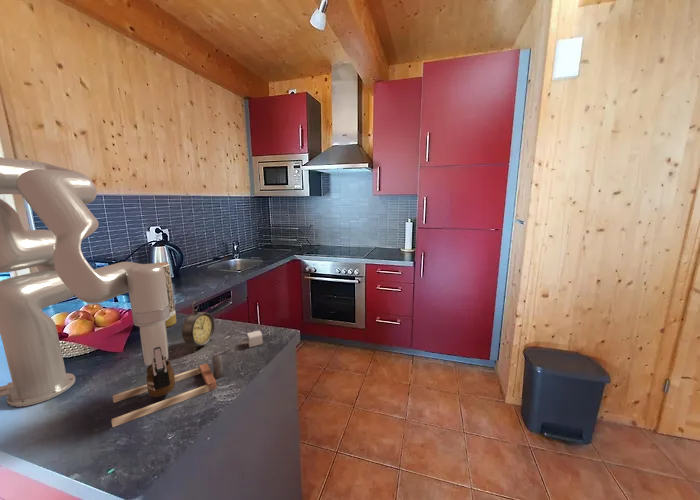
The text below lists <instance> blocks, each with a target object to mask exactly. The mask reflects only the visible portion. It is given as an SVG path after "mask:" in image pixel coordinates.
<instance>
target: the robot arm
mask: <svg viewBox="0 0 700 500" xmlns="http://www.w3.org/2000/svg"><path fill="white" fill-rule="evenodd" d="M97 193H98V191H97V187H96V185H95V183H94V182H93V181H92V179H91V178H89V177H88V176H87V175H86V174H83V172H80V171H76V170H72V169H68V168H65V167H61V166H58V165H54V164H50V163H46V162H43V161H36V160H30V159H29V160H28V159H19V158H9V157H2V156H1V157H0V195H21V197H22V198H23V199H24V200H25V202H26V203H27V205H29V207H30V208H31V209H32V210H33V212H34V213H35V214H36V215H37V217H38V218H39V220H41V222H43V224H44V225H45V226H46V228H47V229H31V230H26V229H25V228H24V226H23V224H22V221H21V217H20V215H19V213H18V212H17V211H16V209H14V208H13V207H12V206H11V205H10V204H9V203H7V202H6V201H5V200H3V199H2V198H0V274H2V273H3V274H4V273H11V272H16V271H21V270H22V271H23V270H26V269H31V268H35V267H36V268H37V270H38V271H35V272H29V273H25V274H21V275H15V276H12V277H9V278H5V279H2V280H0V339H1V343H2V346H3V349H4V353H5V358H6V363H7V366H8V370H9V374H10V378H11V382H7V383H6V384H5V385H2V386H0V398H2V397H6V396H7V397H6V402H7V405H8V404H9V405H11V406H10V407H12V406H16V407H17V408H18V407H19V408H23V407H30V406H33V405H36V404H40V403H43V402H46V401H49V400H51V399H53V398H55V397H58V396H59V395H61V394H63V393H65V392H66V391H68V390H69V389H70V388H71V387H72V386H73V385H74V384H75V383H76V376H75V375H74V374H73V373H69V372H66V367H65V362H64V357H63V353H62V352H63V351H62V348H61V343H60V339H59V338H60V337H59V333H58V329H57V324H56V322H55V320H54V319H53V318H52V317H50V316H49V315H47V314H46V313H45V312H43V309H45V308H48V307H50V306H52V305H55V304H59V303H61V302H63V301H64V302H65V301H66V300H69V299H71V298H73V297H76V298H77V299H79V300H80V301H82V302H83V303H87V304H100V303H103V302H106V301H109V300H111V299H115V298H116V297H119V296H121V295H124V294H127V293H128V295H129V301H130V309H131V314H132V321H133V325H134V326H135V327H139V334H140V335H139V336H140V342H141V343H140V344H141V349H142V350H141V351H142V355H143V361H144V366H146V367H148V366H150V365H151V364H152V366H153V373H154V374H153V381H154V388H155V390H157V389H160V388H163V387H166V386H169V385H170V381H169V374H168V370H167V367H166V360H167V361H168V360H169V344H168V343H169V342H168V334H167V332H168V331H167V327H166V323H165V321H166V320H168V319H169V318H170V310H169V302H168V295H167V287H166V279H165V272H164V268H163V267H162V266H161V265H159V264H154V263H139V262H132V261H121V262H117V263H113V264H108V265H104V266H102V267H97V268H95V269H94V268H93V267H92V265H90V263H89V262H88V261H87V259H86V257H85V256H84V254H83V252H82V241H83V240H85V239H86V238H88V237H89V236H90V235H92V234H93V233H94V232H96V230H97V229H98V228H99V224H100V223H99V221H98V219H97V218H96V216H95V215H94V214H93V213H92V212H91V210H90V209H89V208H88V206H87V205H88V204H91V203H92V202H94V201H95V199H96V198H97ZM162 357H163V359H162ZM154 361H155V362H154ZM162 362H163V363H162ZM155 364H156V365H157V367H156V368H155ZM9 405H8V406H9ZM22 406H23V407H22ZM16 407H15V408H16Z"/></svg>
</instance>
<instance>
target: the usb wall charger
mask: <svg viewBox="0 0 700 500" xmlns="http://www.w3.org/2000/svg"><path fill="white" fill-rule="evenodd" d="M239 342H240V345H245V344H247V345H248V348H252V347H253V348H254V347H257V346H260V345H263V344H264V343H263V342H264V340H263V334H262V332H261V329H260V330H255V331H251V332H247V333H246V338H242V339H240V340H239Z"/></svg>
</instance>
